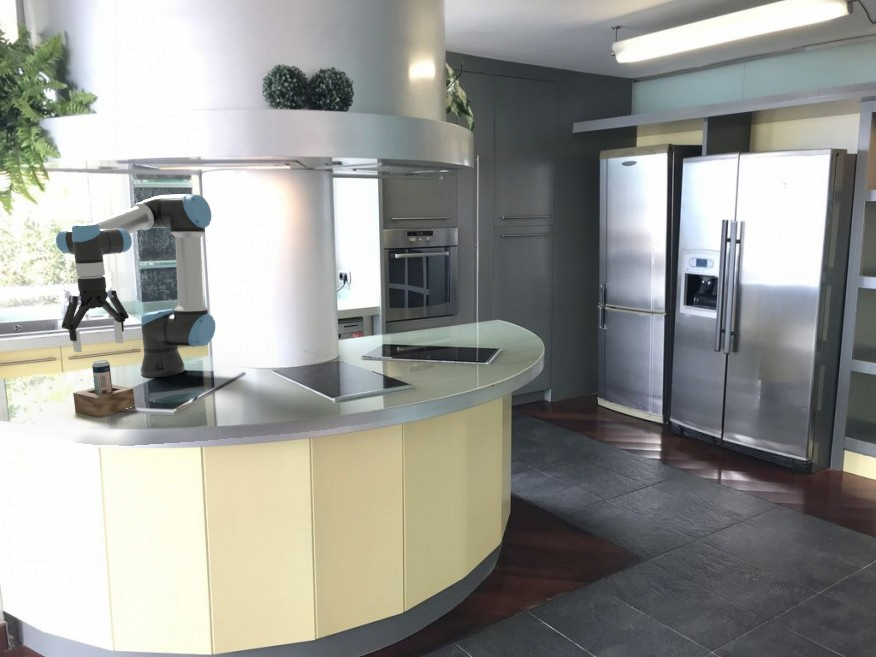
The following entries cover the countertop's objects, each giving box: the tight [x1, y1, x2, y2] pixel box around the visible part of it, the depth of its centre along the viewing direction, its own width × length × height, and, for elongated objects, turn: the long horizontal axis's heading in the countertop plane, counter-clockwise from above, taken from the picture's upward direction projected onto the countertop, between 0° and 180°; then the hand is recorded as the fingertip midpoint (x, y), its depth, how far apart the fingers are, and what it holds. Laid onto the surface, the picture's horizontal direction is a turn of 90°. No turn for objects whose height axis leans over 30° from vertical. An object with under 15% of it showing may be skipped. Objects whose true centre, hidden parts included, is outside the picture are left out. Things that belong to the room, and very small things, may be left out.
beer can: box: [91, 359, 113, 395], centre depth 218 cm, size 5×5×12 cm
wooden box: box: [72, 384, 136, 418], centre depth 219 cm, size 12×12×6 cm
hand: (99, 347), depth 216 cm, fingers open, 13 cm apart
